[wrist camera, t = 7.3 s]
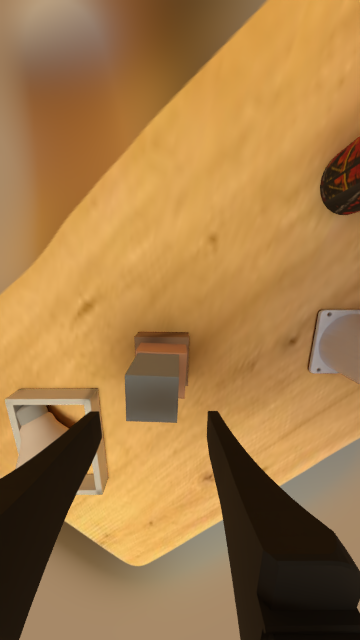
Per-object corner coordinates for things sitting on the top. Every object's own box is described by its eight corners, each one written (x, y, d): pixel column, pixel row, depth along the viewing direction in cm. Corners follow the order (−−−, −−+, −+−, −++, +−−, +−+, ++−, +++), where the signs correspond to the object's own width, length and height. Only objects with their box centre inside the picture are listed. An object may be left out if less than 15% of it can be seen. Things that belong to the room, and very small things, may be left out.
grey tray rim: (97, 388, 22) (89, 398, 20) (108, 478, 25) (102, 494, 24) (19, 388, 22) (4, 399, 20) (40, 478, 25) (29, 494, 23)
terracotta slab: (186, 344, 19) (187, 353, 16) (183, 384, 20) (184, 398, 18) (141, 342, 19) (135, 351, 16) (141, 382, 20) (135, 396, 18)
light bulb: (-29, 427, 18) (9, 531, 17) (33, 396, 19) (72, 495, 18) (24, 403, 24) (54, 478, 23) (68, 382, 25) (99, 453, 24)
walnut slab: (187, 331, 21) (189, 337, 19) (186, 374, 22) (187, 386, 20) (139, 330, 21) (134, 337, 19) (141, 374, 22) (136, 385, 20)
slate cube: (179, 354, 17) (179, 377, 13) (177, 391, 17) (176, 422, 13) (137, 353, 16) (125, 375, 13) (138, 389, 17) (126, 421, 13)
